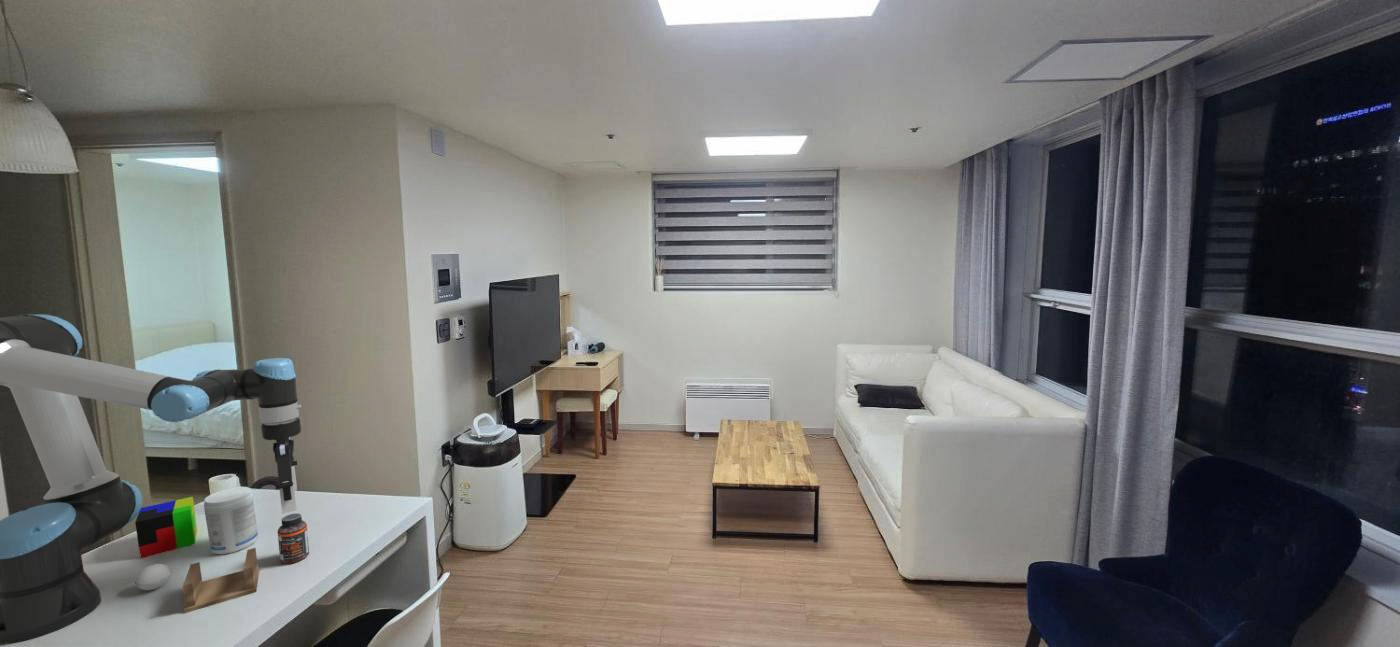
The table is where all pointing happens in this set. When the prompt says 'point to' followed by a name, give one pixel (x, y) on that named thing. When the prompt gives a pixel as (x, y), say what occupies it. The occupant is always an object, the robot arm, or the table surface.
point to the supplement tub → (230, 520)
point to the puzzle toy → (166, 527)
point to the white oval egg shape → (152, 577)
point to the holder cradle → (220, 584)
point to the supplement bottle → (293, 539)
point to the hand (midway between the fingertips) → (290, 501)
